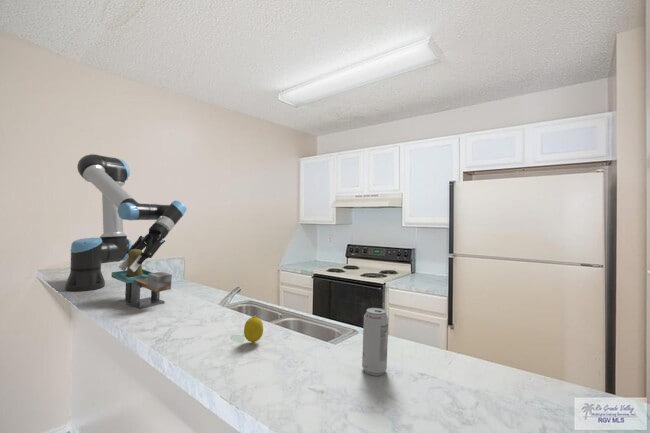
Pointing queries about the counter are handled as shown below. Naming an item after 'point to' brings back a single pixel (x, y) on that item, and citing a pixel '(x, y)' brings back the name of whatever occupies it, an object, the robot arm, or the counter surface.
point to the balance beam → (147, 280)
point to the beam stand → (134, 297)
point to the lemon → (253, 329)
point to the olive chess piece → (133, 256)
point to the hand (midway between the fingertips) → (126, 269)
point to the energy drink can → (375, 341)
